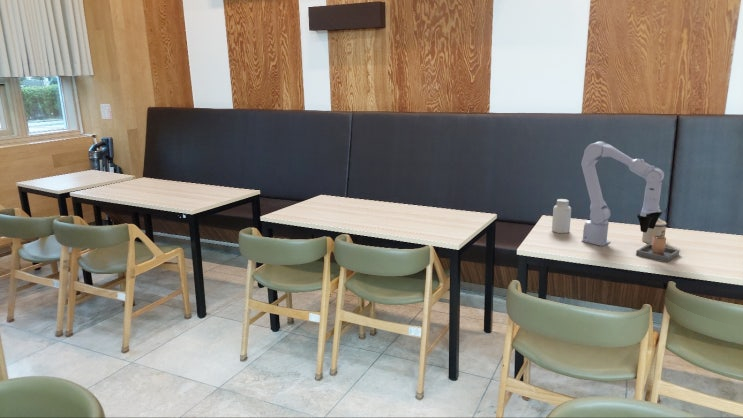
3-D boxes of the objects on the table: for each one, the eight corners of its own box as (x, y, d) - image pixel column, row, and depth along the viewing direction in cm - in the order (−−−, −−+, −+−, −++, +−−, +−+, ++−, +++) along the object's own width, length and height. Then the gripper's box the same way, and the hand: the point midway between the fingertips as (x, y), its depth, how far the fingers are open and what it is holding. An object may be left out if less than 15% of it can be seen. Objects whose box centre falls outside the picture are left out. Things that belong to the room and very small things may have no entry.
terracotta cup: (649, 253, 224) (651, 237, 222) (653, 251, 227) (655, 234, 226) (661, 256, 221) (664, 240, 219) (665, 253, 224) (667, 237, 222)
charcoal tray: (635, 255, 224) (636, 250, 224) (648, 248, 233) (649, 243, 232) (667, 262, 216) (667, 257, 215) (678, 254, 224) (679, 250, 224)
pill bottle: (550, 228, 262) (552, 198, 258) (567, 229, 261) (570, 198, 257) (553, 233, 254) (555, 201, 250) (571, 234, 253) (574, 202, 249)
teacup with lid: (662, 246, 235) (666, 220, 232) (639, 242, 240) (642, 217, 237) (666, 239, 245) (670, 214, 242) (644, 235, 250) (647, 211, 247)
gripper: (655, 202, 216) (650, 235, 219) (669, 197, 225) (664, 228, 229) (636, 199, 221) (632, 231, 224) (651, 194, 230) (646, 225, 234)
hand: (647, 230), depth 227 cm, fingers open, 7 cm apart
